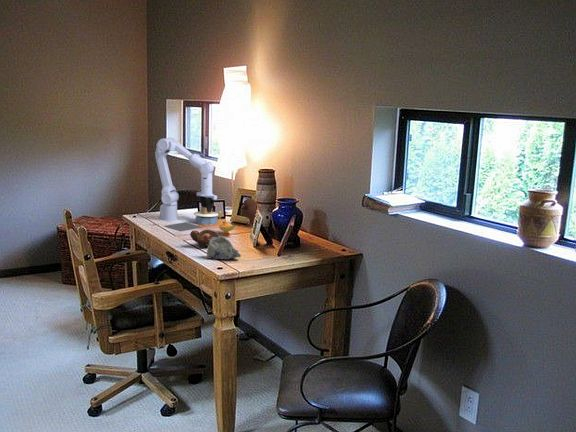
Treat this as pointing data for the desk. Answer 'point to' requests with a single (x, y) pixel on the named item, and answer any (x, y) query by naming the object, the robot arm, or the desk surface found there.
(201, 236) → the decorative turtle
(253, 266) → the desk surface
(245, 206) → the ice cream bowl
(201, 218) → the dish
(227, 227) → the magic lamp
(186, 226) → the mat
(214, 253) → the mineral rock
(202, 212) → the lid
